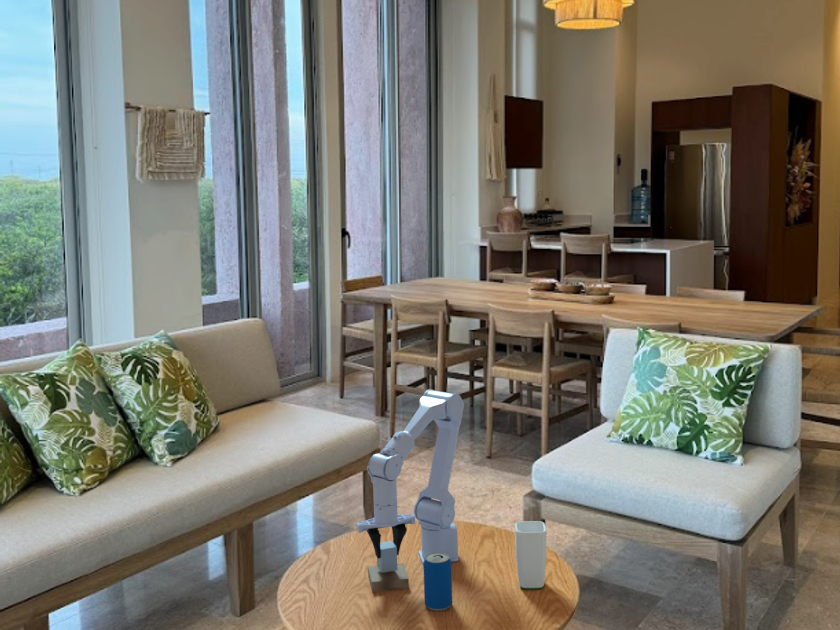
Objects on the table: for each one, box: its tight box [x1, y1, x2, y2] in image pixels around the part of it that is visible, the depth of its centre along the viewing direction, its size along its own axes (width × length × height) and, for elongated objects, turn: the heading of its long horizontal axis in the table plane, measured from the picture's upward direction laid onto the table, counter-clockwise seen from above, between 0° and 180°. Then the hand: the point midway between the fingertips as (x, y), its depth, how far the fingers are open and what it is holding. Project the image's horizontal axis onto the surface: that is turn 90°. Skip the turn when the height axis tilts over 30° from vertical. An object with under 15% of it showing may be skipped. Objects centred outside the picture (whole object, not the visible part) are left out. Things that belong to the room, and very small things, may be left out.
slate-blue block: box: [376, 540, 398, 573], centre depth 222 cm, size 4×4×6 cm
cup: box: [514, 520, 547, 590], centre depth 218 cm, size 7×7×15 cm
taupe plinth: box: [367, 562, 410, 593], centre depth 223 cm, size 9×9×3 cm
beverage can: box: [422, 552, 453, 612], centre depth 209 cm, size 6×6×12 cm
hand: (387, 555), depth 222 cm, fingers closed on slate-blue block, 4 cm apart
